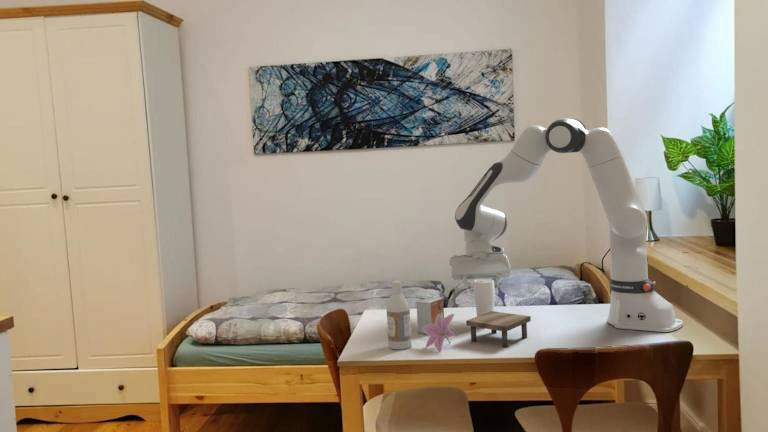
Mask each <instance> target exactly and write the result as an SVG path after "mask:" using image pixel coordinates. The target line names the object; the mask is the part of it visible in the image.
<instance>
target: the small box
mask: <svg viewBox="0 0 768 432" xmlns="http://www.w3.org/2000/svg"><path fill="white" fill-rule="evenodd" d="M415 303H416V316H417V317H416V318H417V320H416V321H417V333H418V334H425V335H427V334H426V333H425V332H424V331H423V330H422V327H424V326H426V325H429V324H435V321H436V317H437V315H438V314H440V316H441V318H442V320H443V319H444V318H445V309H444V308H445V307H444V298H443V297H434V296H429V297H427V298H424V299H421V300H417V301H416V302H415Z"/></svg>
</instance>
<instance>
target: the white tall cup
mask: <svg viewBox="0 0 768 432" xmlns="http://www.w3.org/2000/svg"><path fill="white" fill-rule="evenodd" d="M494 281H495V280H494V279H493V278H486V279H473V296H474V304H475V310H476V311H475V312H476V317H477V316H480V315H483V314H485V313H488V312H491V311H495V292H496V291H495V289H496V288H495V286H494Z"/></svg>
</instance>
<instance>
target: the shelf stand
mask: <svg viewBox="0 0 768 432" xmlns="http://www.w3.org/2000/svg"><path fill="white" fill-rule="evenodd" d="M531 318H532V317H531V315H524V314H517V313H516V314H515V313H508V312H499V311H495V310H494V311H491V312H488V313H485V314H483V315H480V316H477V315H476V316H475V317H473V318H470V319H467V320H466V321H465V322H466V323H465V324H466V327H470V337H471V338H470V340H471V342H472V343H476V342H478V341H477V339H478V338H477V328H479V329H480V328H481V329H486V330H490V331H491V334H497V333H498V332H497V331H499V332H501V347H502V348H508V346H509V343H508V331H511V330H514V329H515V328H518V327H520V326H521V329H520V330H521V338H522V339H528V324H527V323H530V322H531V321H532V319H531Z"/></svg>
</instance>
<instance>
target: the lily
mask: <svg viewBox="0 0 768 432" xmlns="http://www.w3.org/2000/svg"><path fill="white" fill-rule="evenodd" d="M454 316H455V313H451V314H449V315H447V316H444V319H443V320H442V318H441V316H440V314H438V315H437V317H436V321H435V324H429V325H426V326H424V327H422V330H423V331H424V332H425V333H426V334H425V335H427V336H428V337H429V338H428V339H427V342H426V345H425V348H428V347H430V346H432V345H433V344H434V347H435V348H436V351H437V352H438V353H441V352H442V348H443V344H444V341H445V339H446V340H447V342H448V343H449V344H451V342H450V340H449V338H453V337H455V336H456V334H455V332H454V331H452V329H450V328H449V327H450V325H451V323H452V320H453V318H454Z"/></svg>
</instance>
